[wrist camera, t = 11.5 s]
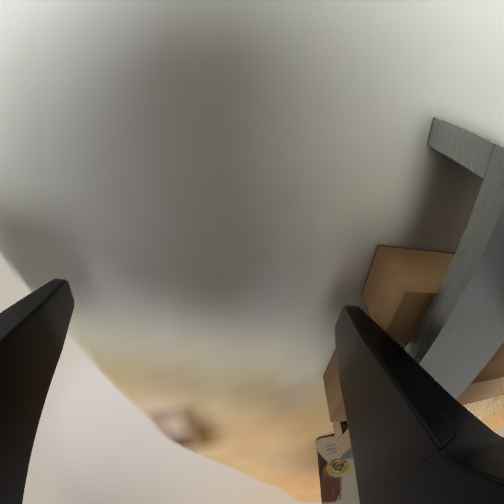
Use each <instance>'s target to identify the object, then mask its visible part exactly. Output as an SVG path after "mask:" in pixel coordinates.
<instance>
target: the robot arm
mask: <svg viewBox="0 0 504 504" xmlns="http://www.w3.org/2000/svg"><path fill="white" fill-rule="evenodd" d="M73 309H74V299H73V296H72V292H71V289H70V285H69V283H68V281H67V280H65V279H58V278H56V279H53V280H52V281H50V282H48V283H47V284H45V285H44V286H42V287H40V288H39V289H37V290H35V291H34V292H32V293H31V294H29V295H27V296H26V297H24V298H23V299H21V300H20V301H18V302H17V303H15V304H13V305H12V306H10V307H9V308H7V309H6V310H4V311H3V312H1V313H0V504H22V501H23V494H24V488H25V482H26V477H27V471H28V467H29V466H28V465H29V461H30V456H31V452H32V447H33V443H34V439H35V435H36V431H37V427H38V424H39V420H40V417H41V413H42V409H43V406H44V403H45V399H46V396H47V393H48V390H49V387H50V384H51V381H52V377H53V375H54V372H55V369H56V366H57V363H58V360H59V358H60V354H61V352H62V349H63V345H64V341H65V338H66V334H67V330H68V327H69V323H70V320H71V316H72V313H73ZM335 341H336V351H337V363H338V374H339V381H340V387H341V392H342V397H343V402H344V408H345V413H346V419H347V424H348V430H349V436H350V442H351V448H352V454H353V460H354V467H355V473H356V480H357V487H358V494H359V501H360V504H504V438H503V437H501V436H499V435H498V434H496V433H495V432H493V431H492V430H491V429H490V428H489V427H487V426H486V425H485V424H484V423H483V422H481V421H480V420H479V419H478V418H477V417H475V416H474V415H473V414H472V413H471V412H469V411H468V410H467V409H466V408H465V407H464V406H463V405H461V404H460V403H459V402H458V401H457V400H456V399H455V398H454V397H452V396H451V395H450V394H449V393H448V392H447V391H446V390H445V389H444V388H443V387H442V386H441V385H440V384H439V383H438V382H437V381H435V379H434V378H433V377H432V376H431V375H430V374H429V373H428V372H427V371H426V370H425V369H424V368H423V367H422V366H421V365H419V364H418V363H417V362H416V361H415V360H414V359H413V358H412V357H411V356H410V355H409V354H408V353H407V352H406V351H405V350H404V349H403V348H402V347H401V346H400V345H399V344H398V343H397V342H396V341H394V340H393V339H392V338H391V337H390V336H389V335H388V334H387V333H386V332H385V331H384V330H383V329H382V328H381V327H380V326H379V325H378V324H377V323H375V322H374V321H373V320H372V319H371V318H370V317H369V316H368V315H367V314H366V313H365V312H364V311H363V310H362V309H360V308H359V307H358V306H351V305H346V306H344V307H343V308H342V310H341V313H340V315H339V318H338V321H337V323H336V326H335Z"/></svg>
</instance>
